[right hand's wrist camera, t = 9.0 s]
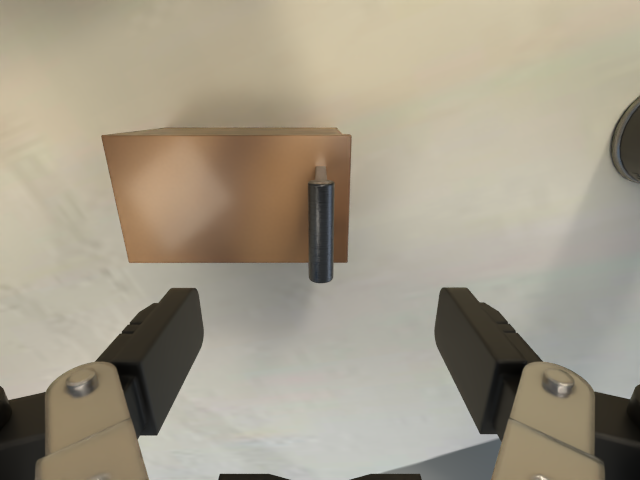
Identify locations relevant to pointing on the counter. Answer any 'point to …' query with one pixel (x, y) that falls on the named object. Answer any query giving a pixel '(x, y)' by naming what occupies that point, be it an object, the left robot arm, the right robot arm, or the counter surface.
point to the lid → (233, 198)
